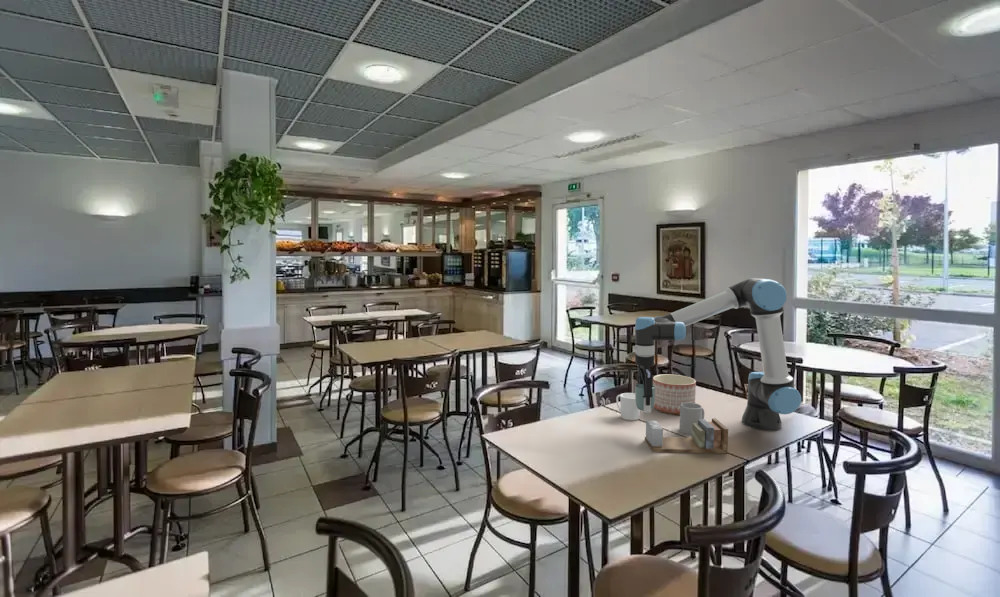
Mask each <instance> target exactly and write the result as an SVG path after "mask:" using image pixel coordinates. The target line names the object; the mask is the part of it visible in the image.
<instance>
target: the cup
mask: <svg viewBox="0 0 1000 597" xmlns="http://www.w3.org/2000/svg"><path fill="white" fill-rule="evenodd" d="M634 393H635V400H636V406H637V408H638V409H639V410H640V412H641V411H642V412H644V398H643V396H644V385H643V384H635V387H634ZM652 394H653V397H651V411H652V410H653V409H654V404H655V386H654V385H653V384H652Z"/></svg>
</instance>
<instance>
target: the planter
mask: <svg viewBox="0 0 1000 597" xmlns="http://www.w3.org/2000/svg"><path fill="white" fill-rule="evenodd" d="M652 385H654V386H655V404H654V407H653V409H655V410H657V411H658V412H660V413H663V414H666V415H673V416H680V405H681V404H682V403H696V392H697V391H696V390H697V389H696V388H697V380H696V379H695V378H692V377H690V376H686V375H680V374H670V373H667V374H666V373H665V374H664V373H663V374H656V375H654V376H652Z"/></svg>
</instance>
